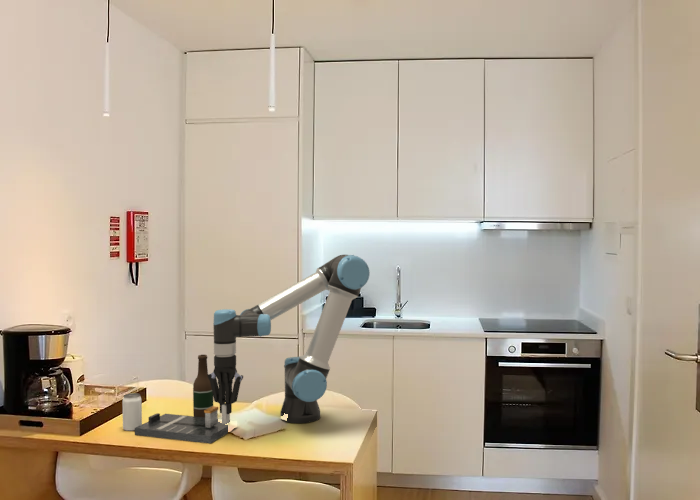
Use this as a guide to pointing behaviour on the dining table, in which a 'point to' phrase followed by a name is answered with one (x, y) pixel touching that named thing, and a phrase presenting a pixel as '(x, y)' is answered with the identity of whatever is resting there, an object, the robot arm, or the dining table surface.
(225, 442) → the dining table surface
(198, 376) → the beer bottle
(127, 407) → the can
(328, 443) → the dining table surface
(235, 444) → the dining table surface
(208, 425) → the fader knob
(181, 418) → the board
